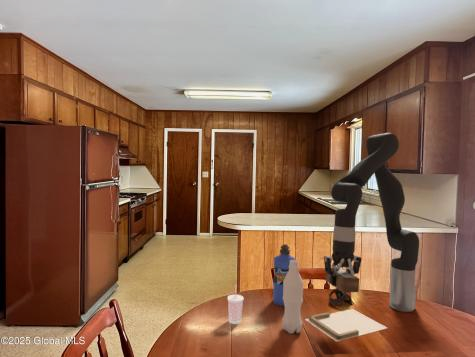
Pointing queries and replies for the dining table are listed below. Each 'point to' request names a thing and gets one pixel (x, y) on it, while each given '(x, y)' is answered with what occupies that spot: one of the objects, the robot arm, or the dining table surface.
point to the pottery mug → (339, 297)
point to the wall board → (344, 324)
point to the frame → (345, 281)
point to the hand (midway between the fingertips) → (341, 285)
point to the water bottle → (292, 299)
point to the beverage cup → (235, 307)
